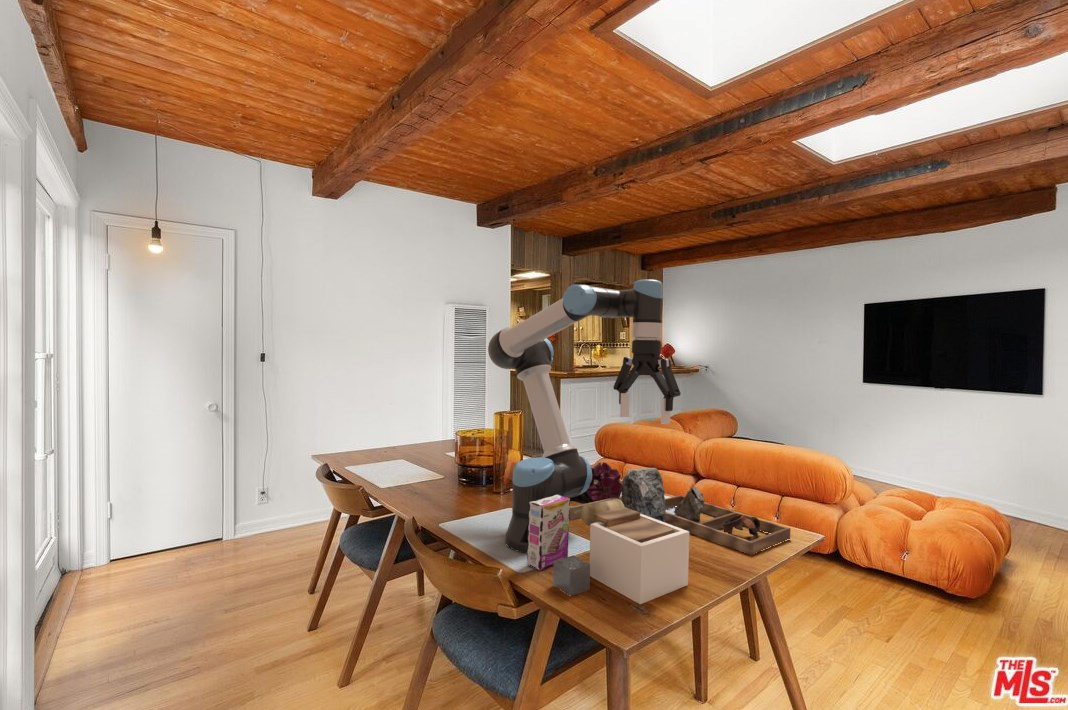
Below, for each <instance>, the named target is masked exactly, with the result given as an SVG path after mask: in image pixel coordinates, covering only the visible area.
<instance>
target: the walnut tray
mask: <svg viewBox="0 0 1068 710" xmlns="http://www.w3.org/2000/svg"><path fill="white" fill-rule="evenodd" d="M685 496H686V495H685ZM685 496H684V495H680V494H679V495H675V496H671V497H667V498H666V497H665V501H666V509H667V510H669V509H668V508H671V509H673V508H672V507H674V508H676V507H675V506H678V504H679V503H680V502H681V501H683V500H684V498H685ZM701 512H703V513H702V514H705V515H708V516H711V517H714V516H715V517H714V518H709V519H707V520H704V521H700V522H697V521H691V520H688V519H685V518H682V517H680V516H678V515H676V514H673V513H670V512H666V511H665V514H666V519H665V523H667V524H670V525H673V526H676V527H678V528H681V529H684V530H686V531H689V534H690V535H694V536H697V537H699V538H702V539H706V540H708V541H710V542H713V543H715V542H716V544H718V543H719V545H721V544H722V546H724V545H725V546H724V547H726V546H727V548H729V547H730V549H732V548H733V549H732V550H734V549H736V550H735V551H737V550H739V551H738V552H740V551H741V553H742V552H744V553H743V554H745V553H747V554H746V555H748V554H750V555H749V556H751V555H752V554H754V553H756V552H759V551H761V550H763V549H766V548H768V547H770V546H773V545H775V544H778V543H780V542H783V541H785V540H787V539H790V540H791V527H788V526H784V525H780V524H777V523H774V522H770V521H767V520H764V519H761V518H758V520H759V521H760V528H759V530H761V531H764V532H768V533H771V534H764V535H763V536H759V538H757V539H754V540H752V541H750V540H748V539H746V538H743V537H740V536H736V535H734V534H728V533H727V532H724V531H722V529H724V526H723V525H722V524H723V523H724V522H725V521H727V522H728V523H730V521H729V519H730V518H732V517H735V516H737V515H741V514H742V513H741V512H738V511H734V510H731V509H728V508H724V507H721V506H717V505H715V504H711V503H708V502H705V501H704V507H703V509H702V511H701ZM743 514H744V513H743ZM744 515H745V517H746V518H750V517H752V516H751V515H747V514H744ZM753 523H754V522H753ZM742 525H743V526H742V527H745V526H746V525H745V524H744V523H743V524H742ZM721 528H722V529H721ZM759 553H760V552H759ZM754 555H755V554H754ZM752 556H753V555H752Z"/></svg>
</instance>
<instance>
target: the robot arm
mask: <svg viewBox="0 0 1068 710" xmlns="http://www.w3.org/2000/svg"><path fill="white" fill-rule="evenodd" d="M632 287H633V288H632V289H630V288H629V289H619V290H618V289H611V288H604V287H598V286H593V285H588V284H572V285H570V286H569V287H567V289H566V291H565V292H564V294H563V297H562V298H561V299H559V300H557V301H556V302H554V303H552V304H550V305H549V306H548V305H547V307H545V308H544V309H542V310H539V312H537V313H535V314H533V315H532V316H530V317H528V318H527V319H525V320H523V321H521V322H520V323H517V324H516V325H514V326H512V327H510V326H509V327H504V328H503V329H501V330H499V331H498V332H497V333H495V334H494V335H493V336H492V337H491V339H490V341H489V342H488V345H487V346H488V347H487V352H488V356H489V358H490V360H491V362H492V363H493V364H494V365H496V366H497V367H499V368H500V369H504V370H514V371H515V374H516V377H517V379H518V380H520V381H522V382H523V385H524V388H525V391H526V395H527V400H528V402H529V405H530V409H531V413H532V415H533V418H534V421H535V426H536V430H537V432H538V433H537V434H538V436H539V439H540V444H541V446H542V451H543V454H542V456H540V457H530V458H525V459H522V460H520V461H518V462H516V464H515V465H514V467H513V474H512V477H511V478H512V504H511V505H512V506H511V507H512V510H511V511H512V512H511V514H512V515H511V517H510V520H509V524H508V528H507V531H506V533H505V545H506V544H507V545H508V546H509V547H510V549H511V548H512V550H513V549H514V551H516V550H517V552H520V551H521V553H527V554H528V528H529V502H532V501H536V500H540V499H544V498H547V497H551V496H554V495H560V496H564V497H567V498H570V497H575V496H578V495H580V494H582V493H584V492H585V491H587V489H588V488H589V486H590V483H591V481H592V469H591V468H592V466H591V464H590V461H588V459H587V458H585V457H584V456H581V455H580V454H579V451H578V448H577V447H576V446H573V445H572V444H571V441H570V438H569V435H568V432H567V429H566V426H565V423H564V422H565V421H564V419H563V416H562V413H561V410H560V406H559V403H558V400H557V397H556V394H555V390H554V386H553V384H552V381H551V377H550V374H549V373H550V372H551V369H552V364H553V362H554V358H553V357H554V356H555V354H554V347H553V345H552V343H551V341H550V340H549V339H548V338H550V337H551V336H553V335H555V334H557V333H559V332H560V331H562V330H564V329H567V328H568V327H570V326H572V325H574V324H576V323H578V322H579V321H582V320H585V318H587V317H590V316H591V317H592V316H593V317H594V316H595V317H599V318H604V319H605V318H606V319H617V318H632V331H631V333H632V334H631V337H632V339H633V340H632V341H631V353H632V355H633V356H624V357H623V359H622V366H621V368H620V370H619V372H618V375H617V377H616V380H615V382H614V384H613V390H615V391H617V392H618V397H619V398H618V403H619V405H620V411H619V412H620V414H619V415H620V416H619V417H620V418H629V417H630V398H631V397H630V392H629V390H630V388H631V387H632V386H633V385H634V383H635V382H636V380H637V379H638V378H639V376H641V375H645V376H650V377H651V378H652V379H653V380H654V382H655V384H656V386H657V387H658V388H659V390H660V392H661V393H662V395H663V397H661V407H660V409H661V410H660V424H661V425H669V424H671V412H673V408H674V398H676V397H680V396H681V391H680V388H679V386H678V383H677V380H676V377H675V375H674V372H673V369H672V364H671V363H672V362H671V359H670V358H661V359H660V355H661V354H662V341H661V340H660V339H662V337H663V336H662V335H663V334H662V329H663V328H662V327H663V305H664V304H663V303H664V289H663V288H664V287H663V283H662V281H660V280H657V279H639V280H635V281H634V282H633V286H632ZM660 368H661V369H660ZM507 545H506V546H507ZM508 546H507V547H508ZM509 547H508V548H509Z"/></svg>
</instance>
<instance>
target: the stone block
mask: <svg viewBox="0 0 1068 710" xmlns="http://www.w3.org/2000/svg"><path fill="white" fill-rule="evenodd" d="M622 480H623V485H622V490H621V491H622V492H621V496H622V503H623V504H624V507H626V508H629V509H632V510H634V511H637V512H640V514H643V515H646V516H648V517H651V518H654V519H657V520H659V521H662V522H665V519H666V514H665V512H666V510H665V509H666V501H665V499H666V497H665V493H666V491H665V486H664V481H663V477H662V475H661V472H660V471H659V470H658V469H657V468H656V467H645V468H631V469H629V470H628V471H627V473H625V474H624V476H623V478H622Z"/></svg>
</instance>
